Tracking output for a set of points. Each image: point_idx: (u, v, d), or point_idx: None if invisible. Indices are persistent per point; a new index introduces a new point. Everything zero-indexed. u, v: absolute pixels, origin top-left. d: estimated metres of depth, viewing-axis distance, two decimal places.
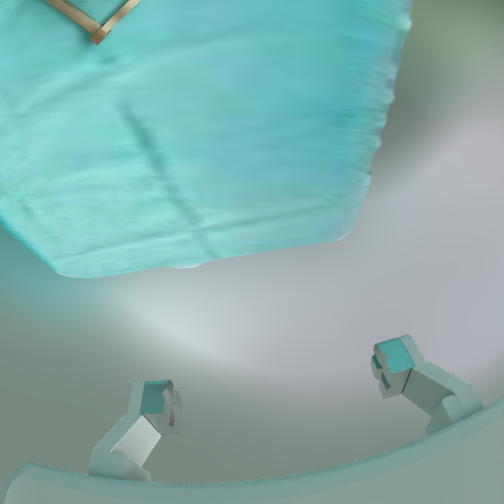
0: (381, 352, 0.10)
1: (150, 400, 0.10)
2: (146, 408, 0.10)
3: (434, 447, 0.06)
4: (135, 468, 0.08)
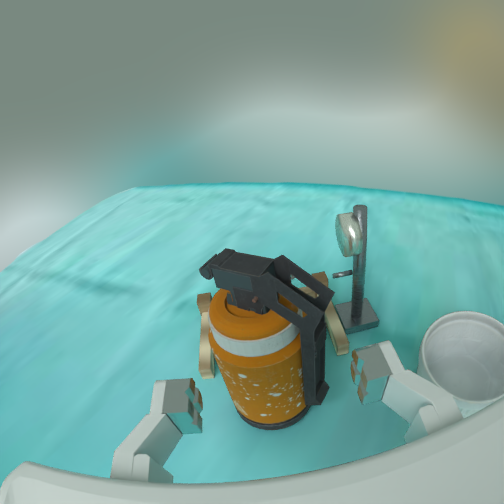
0: (358, 358, 0.10)
1: (173, 399, 0.10)
2: (169, 407, 0.09)
3: (434, 447, 0.06)
4: (159, 469, 0.08)
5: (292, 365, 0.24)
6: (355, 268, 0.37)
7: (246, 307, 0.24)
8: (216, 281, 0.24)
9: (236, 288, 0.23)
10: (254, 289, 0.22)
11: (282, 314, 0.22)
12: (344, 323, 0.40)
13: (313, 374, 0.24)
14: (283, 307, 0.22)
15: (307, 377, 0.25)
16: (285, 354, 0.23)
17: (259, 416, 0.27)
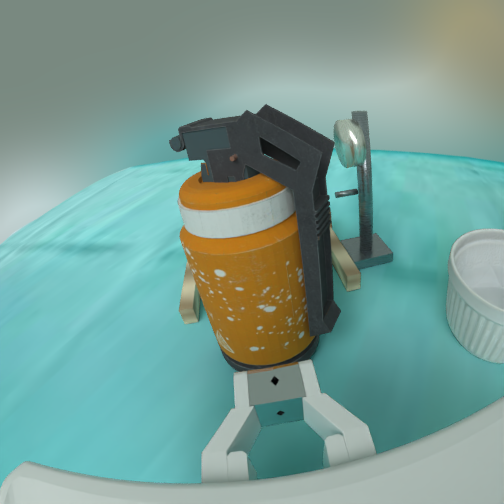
0: (274, 376, 0.10)
1: (259, 390, 0.10)
2: (257, 398, 0.09)
3: (434, 447, 0.06)
4: (251, 466, 0.08)
5: (287, 258, 0.18)
6: (360, 186, 0.31)
7: (224, 177, 0.18)
8: (188, 151, 0.19)
9: (211, 152, 0.18)
10: (232, 144, 0.17)
11: (269, 172, 0.17)
12: (353, 256, 0.34)
13: (318, 274, 0.19)
14: (269, 159, 0.16)
15: (310, 282, 0.19)
16: (277, 236, 0.18)
17: (248, 352, 0.22)
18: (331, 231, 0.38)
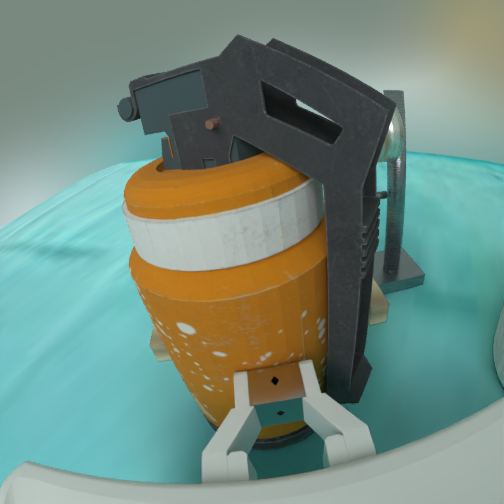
0: (274, 376, 0.10)
1: (259, 390, 0.10)
2: (257, 399, 0.09)
3: (434, 447, 0.06)
4: (251, 466, 0.08)
5: (304, 306, 0.10)
6: (391, 187, 0.23)
7: (198, 159, 0.10)
8: (143, 119, 0.11)
9: (177, 117, 0.10)
10: (211, 99, 0.09)
11: (278, 149, 0.09)
12: (376, 278, 0.26)
13: (353, 330, 0.11)
14: (279, 124, 0.08)
15: (337, 340, 0.11)
16: (289, 269, 0.10)
17: None
18: None
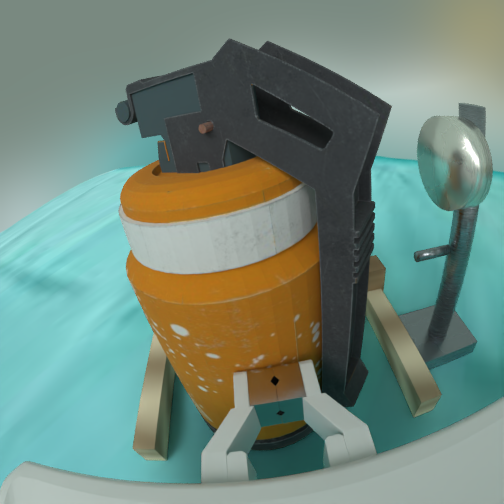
0: (274, 376, 0.10)
1: (259, 390, 0.10)
2: (256, 399, 0.09)
3: (434, 447, 0.06)
4: (251, 466, 0.08)
5: (297, 309, 0.10)
6: (457, 241, 0.15)
7: (192, 163, 0.10)
8: (140, 123, 0.11)
9: (172, 121, 0.10)
10: (204, 104, 0.09)
11: (269, 153, 0.09)
12: (422, 351, 0.18)
13: (346, 335, 0.11)
14: (270, 129, 0.08)
15: (331, 344, 0.11)
16: (281, 274, 0.10)
17: None
18: (384, 300, 0.23)
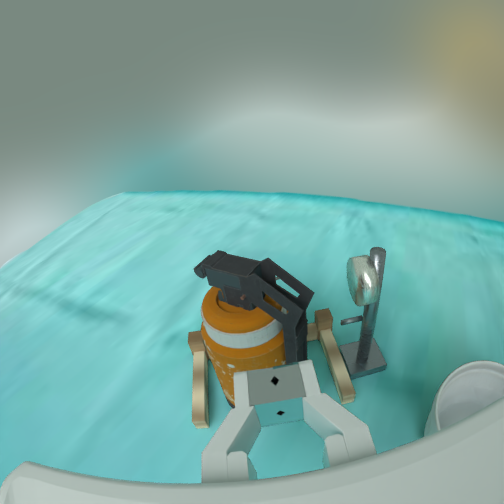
0: (274, 376, 0.10)
1: (259, 390, 0.10)
2: (257, 398, 0.09)
3: (434, 447, 0.06)
4: (251, 466, 0.08)
5: (275, 358, 0.27)
6: (366, 315, 0.32)
7: (235, 303, 0.27)
8: (209, 280, 0.27)
9: (226, 286, 0.26)
10: (242, 288, 0.25)
11: (267, 311, 0.25)
12: (349, 368, 0.35)
13: None
14: (268, 304, 0.24)
15: None
16: (270, 347, 0.26)
17: None
18: (331, 336, 0.39)
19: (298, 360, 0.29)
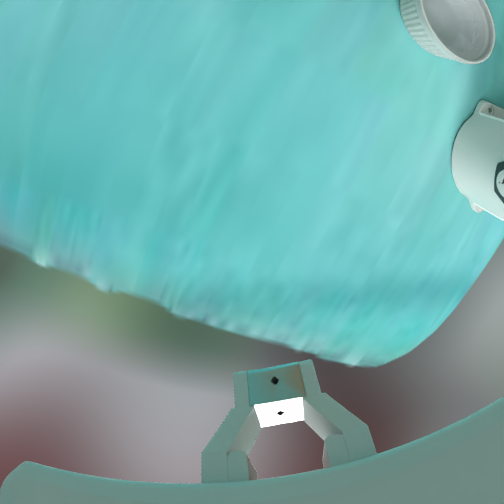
0: (274, 376, 0.10)
1: (259, 390, 0.10)
2: (257, 398, 0.09)
3: (434, 447, 0.06)
4: (251, 466, 0.08)
5: None
6: None
7: None
8: None
9: None
10: None
11: None
12: None
13: None
14: None
15: None
16: None
17: None
18: None
19: None
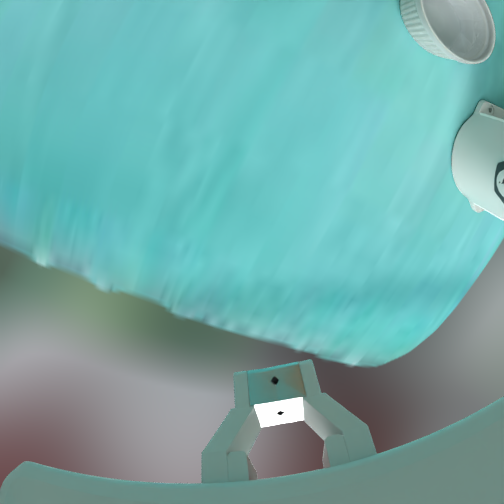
0: (274, 376, 0.10)
1: (259, 389, 0.10)
2: (257, 398, 0.09)
3: (434, 447, 0.06)
4: (251, 466, 0.08)
5: None
6: None
7: None
8: None
9: None
10: None
11: None
12: None
13: None
14: None
15: None
16: None
17: None
18: None
19: None
